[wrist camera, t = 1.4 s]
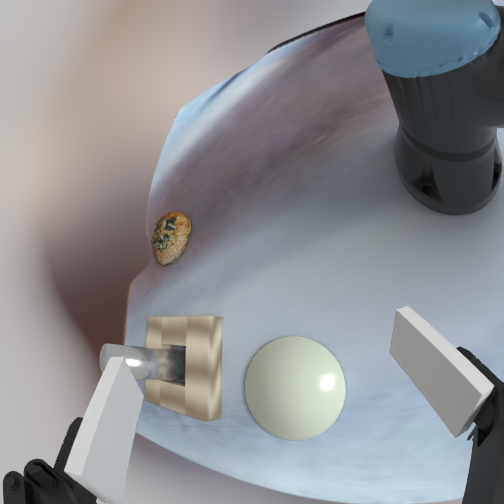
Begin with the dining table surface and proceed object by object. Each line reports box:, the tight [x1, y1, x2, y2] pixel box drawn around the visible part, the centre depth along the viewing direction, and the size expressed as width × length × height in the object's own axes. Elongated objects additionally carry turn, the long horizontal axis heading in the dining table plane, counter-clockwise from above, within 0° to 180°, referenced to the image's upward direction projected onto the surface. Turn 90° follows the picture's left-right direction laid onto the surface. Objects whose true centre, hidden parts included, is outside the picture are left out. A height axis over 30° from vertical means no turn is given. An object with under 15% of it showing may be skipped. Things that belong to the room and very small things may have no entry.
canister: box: [100, 344, 186, 380], centre depth 37 cm, size 5×5×15 cm
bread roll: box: [152, 211, 191, 265], centre depth 53 cm, size 11×11×5 cm
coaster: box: [245, 336, 347, 441], centre depth 31 cm, size 14×14×1 cm
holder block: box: [145, 316, 222, 421], centre depth 42 cm, size 16×16×3 cm
